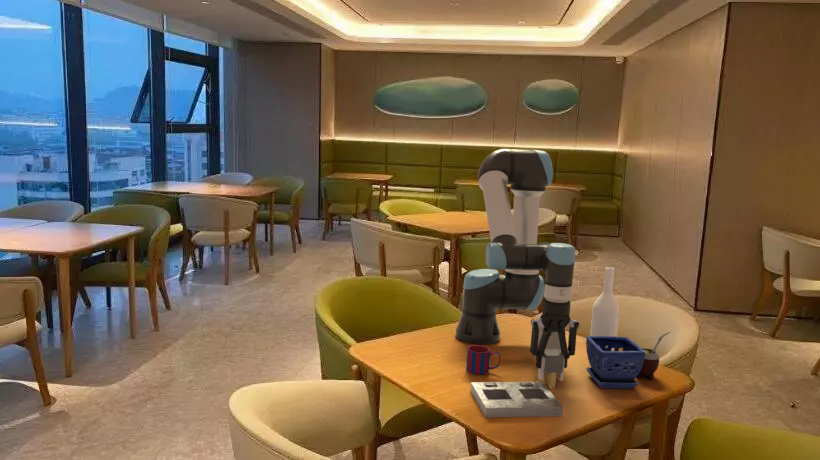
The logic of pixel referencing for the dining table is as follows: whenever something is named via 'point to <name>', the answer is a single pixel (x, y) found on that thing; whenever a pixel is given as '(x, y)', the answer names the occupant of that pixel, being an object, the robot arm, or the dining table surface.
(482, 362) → the cup
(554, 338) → the coffee cup
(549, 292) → the robot arm
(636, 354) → the flower pot
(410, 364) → the dining table surface
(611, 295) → the bottle
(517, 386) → the socket
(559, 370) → the plug
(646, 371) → the mate gourd
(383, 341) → the dining table surface
